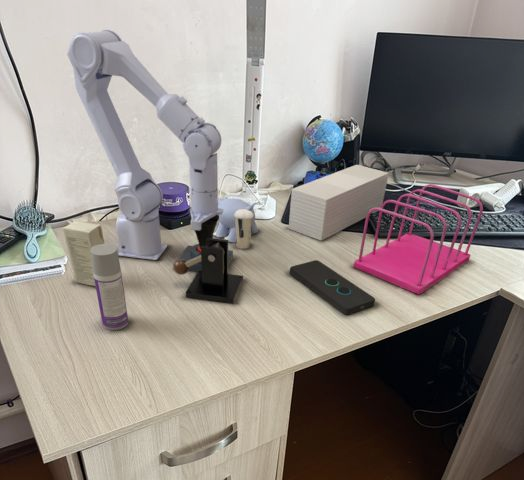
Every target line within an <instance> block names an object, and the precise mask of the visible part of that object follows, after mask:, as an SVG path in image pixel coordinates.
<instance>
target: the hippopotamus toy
mask: <svg viewBox="0 0 524 480" xmlns="http://www.w3.org/2000/svg"><path fill="white" fill-rule="evenodd" d="M257 204H258V202H253V203H251V204H249V203H248V202H247V201H245V200H242V199H239V198H228V197H225V198H220V197H219V198H218V208H220V209H223V214H222V215H219V219H218V226H217V228H216V231H214V234H213V236H215V237H217V238H223V239H224V240H228V243H236V227H235V218H234V214H235V212H236V211H237V210H239V209H247V210H249V211H251V212H252V213H253V222H252V229H251V235H252V234H253V235H254V234H257V233H259V229H258V226H257V223H256V211H255V209H254V208H255V206H256V205H257Z"/></svg>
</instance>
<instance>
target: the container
mask: <svg viewBox="0 0 524 480" xmlns="http://www.w3.org/2000/svg"><path fill="white" fill-rule="evenodd" d="M118 253H119V250H118V246H116V245H114V244H111V243H104V244H99V245H95V246H93V247H92V248H91V249H90V255H91V261H92V268H93V275H94V281H95V286H94V287H95V290H96V291H95V292H96V296H97V301H98V307H99V312H100V319H101V323H102V326H103V328H104V329H106V330H109V331H117V330H121V329H124V328H125V327H127V326H128V324H129V317H128V310H127V309H128V308H127V303H126V302H127V301H126V296H125V295H126V294H125V288H124V287H125V286H124V280H123V274H122V268H121V263H120V258H119V255H118Z"/></svg>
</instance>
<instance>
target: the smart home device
mask: <svg viewBox="0 0 524 480" xmlns="http://www.w3.org/2000/svg"><path fill="white" fill-rule="evenodd" d="M289 274H290V276H291V277H293V278H294V279H295V280H297V281H298V282H300V283H301V284H303V285H304V286H305V287H306V288H307V289H309V290H310V291H312V292H313V293H315V294H316V295H317V296H318V297H320V298H321V299H322V300H324V301H325V302H327V303H328V304H329V305H331V306H332V307H333V308H335V309H336V310H337V311H339V312H340V313H341V314H343V315H345V316H350V315H352V314H356V313H359V312H361V311H364V310H367V309H370V308H373V307H375V302H376V298H375V297H374V296H372V294H369V293H368V292H367V291H365V290H363V289H362V288H360V287H359V286H357V285H356V284H354V283H353V282H351V281H350V280H349V279H347V278H345V277H344V276H343V275H341V274H339V273H338V272H337V271H335V270H333V269H332V268H331V267H330V266H327V265H326V264H324V263H323V262H322V261H320V260H317V259H315V260H311V261H307V262H304V263H303V262H302V263H299V264H295V265H291V266H290V268H289Z"/></svg>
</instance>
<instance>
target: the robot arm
mask: <svg viewBox="0 0 524 480" xmlns="http://www.w3.org/2000/svg"><path fill="white" fill-rule="evenodd" d="M66 56H67V57H68V60H69V62H70V64H71V67H72V68H73V76H74V83H75V88H76V92H77V94H78V97H79V98H80V100H81V102H82V104H83V107H84V109H85V111H86V114H87V115H88V118H89V119H90V122H91V124H92V126H93V128H94V130H95V132H96V134H97V136H98V139H99V141H100V143H101V146H102V147H103V150H104V152H105V154H106V156H107V158H108V160H109V162H110V165H111V167H112V169H113V171H114V173H115V175H116V182H115V186H114V192H115V194H116V197H117V203H118V204H117V205H118V208H119V210H120V213H119V214H118V216H117V218H116V224H115V231H116V239H117V247H118V256H120V257H126V258H127V257H128V258H136V259H143V260H151V261H157V260H159V258H160V257H161V256H162V255H163V253H164V252H165V250H166V249H167V248H168V244H167V243H162V236H161V224H160V213H159V212H160V210H159V209H160V208H159V206H160V205H161V204H162V203H163V199H164V194H163V191H162V189H161V186H159V184H158V183H156V182H155V180H154V179H153V177H152V175H151V173H150V172H149V171H147V170H145V169H144V168H143V167H141V164H140V162H139V160H138V157H137V155H136V153H135V151H134V149H133V146H132V144H131V142H130V140H129V139H130V138H129V137H128V135H127V133H126V130H125V128H124V126H123V124H122V122H121V119H120V117H119V114H118V112H117V110H116V107H115V105H114V103H113V100H112V99H111V97H110V94H109V92H108V89H109V85H110V83H111V81H112V78H113V76H115V77H122V78H123V79H125V81H127V82H128V83H129V84H130V85H131V86H132V87H133V88H134V89H135V90H137V92H139V93H140V95H142V97H144V98H145V99H147V100H148V101H149V102H150V103H151V104H152V106H154V107H155V109H156V117H157V118H158V119H159V120H160V121H161V123H163V125H164V126H165V127H166V128H167V129H168V130H169V131H170V132H171V133H172V134H173V135H174V136H175V137H176V138H177V139H178V140H179V141H180V142H181V143H182V148H183V151H184V153H185V155H186V156H187V158H188V163H189V190H190V208H189V210H190V211H189V212H190V217H191V218H190V219H189V224H190V230H192V231H194V232H195V235H196V238H197V242H198V244H199V246H200V249H201V247H202V246H206V239H207V238H214V235H213V234H214V232H215V229H216V226H217V224H218V222H219V220H218V219H219V215H222V214H223V209H220V208H218V199H219V198H218V197H219V196H218V195H219V194H218V193H219V192H218V191H219V188H218V187H219V186H218V185H219V184H218V181H219V179H218V178H219V177H218V169H219V167H218V153H217V152H218V151H219V149H220V148H221V145H222V136H221V133H220V131H219V130H218V129H217V127H216V125H214V123H212V122H211V123H210V122H206V120H205V119H204V118H203V117H202V116H201V117H200V116H199V115H198V114H197V113H196V112H195V111H194V110H193V109H192V108H191V107H190V106H189V105H188V104H187V102H188V100H187V99H186V98H185V97H184V96H183V95H181V96H180V95H179V94H177V93H168V92H167V91H166V90H165V89H164V87H163V86H162V85H161V84H160V83H159V82H158V80H157V79H156V78H155V77H154V76H153V74H151V73H150V71H149V70H148V69H147V68H146V67H145V66H144V64H143V63H142V62H141V61H140V60H139V59H138V58H137V56H136V55H135V54H134V52H133V50H132V49H131V46H130V45H129V44H128V43H127V42H126V41H124V40H122V38H121V36H120V35H119V34H118V33H117V32H115V31H114V30H111V29H103V30H101V31H91V32H90V31H89V32H85V31H80V32H77V33H75V34H74V35H73V36H72V38H71V40H70V43H69V46H68V51H67V54H66Z"/></svg>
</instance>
